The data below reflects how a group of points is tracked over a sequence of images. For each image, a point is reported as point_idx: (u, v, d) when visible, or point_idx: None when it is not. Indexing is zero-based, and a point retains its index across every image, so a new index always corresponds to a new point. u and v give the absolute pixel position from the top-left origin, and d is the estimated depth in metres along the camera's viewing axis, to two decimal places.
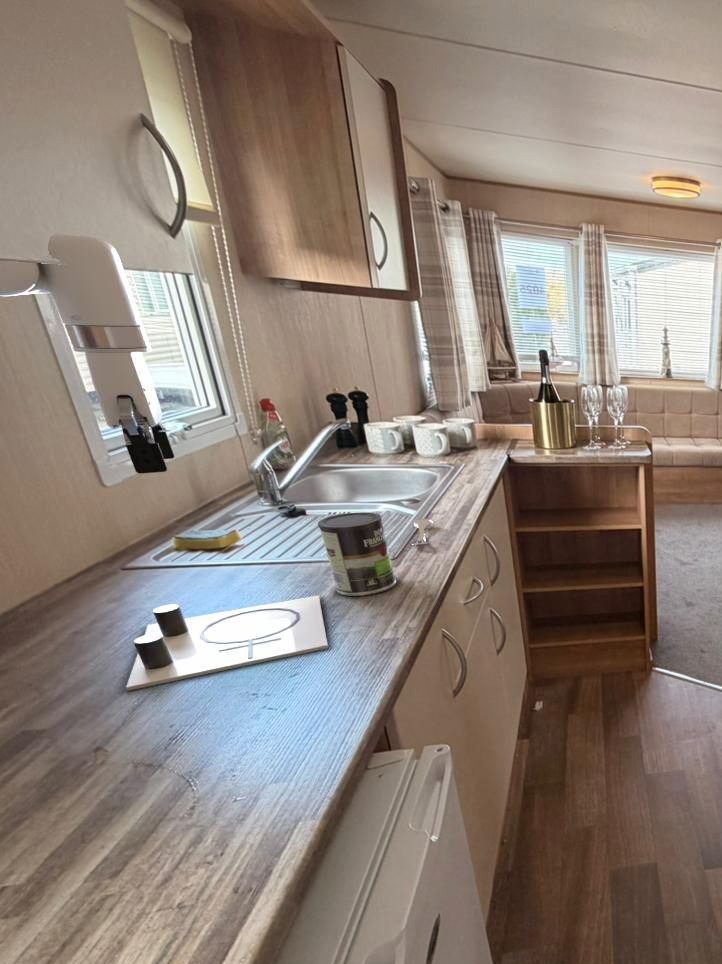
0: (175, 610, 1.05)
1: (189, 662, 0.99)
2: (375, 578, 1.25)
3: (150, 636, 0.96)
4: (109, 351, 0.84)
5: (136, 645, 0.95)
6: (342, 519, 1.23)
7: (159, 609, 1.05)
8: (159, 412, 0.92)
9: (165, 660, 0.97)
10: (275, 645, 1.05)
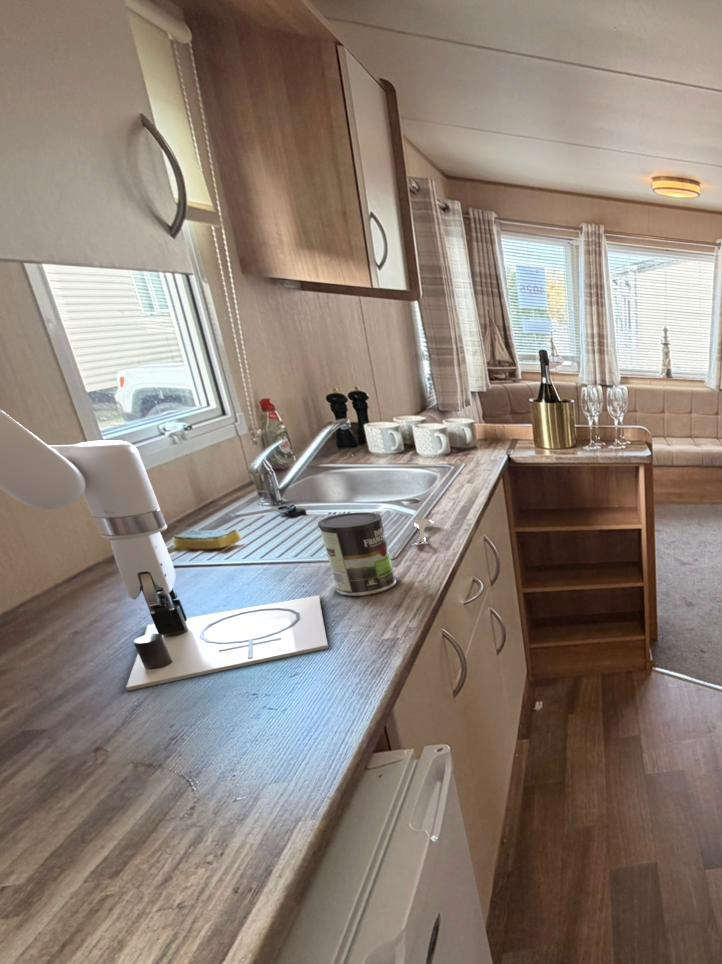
0: None
1: (189, 662, 0.99)
2: (375, 578, 1.25)
3: (150, 636, 0.96)
4: (131, 536, 0.97)
5: (136, 645, 0.95)
6: (342, 519, 1.23)
7: None
8: (173, 576, 1.05)
9: (165, 660, 0.97)
10: (275, 645, 1.05)
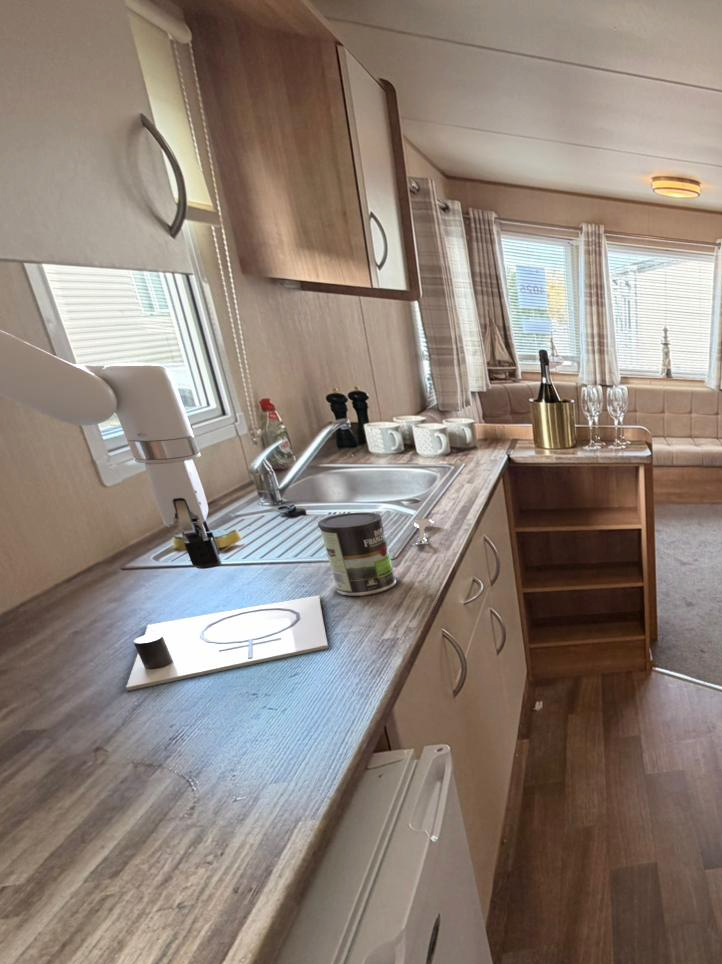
0: None
1: (189, 662, 0.99)
2: (375, 578, 1.25)
3: (150, 636, 0.96)
4: (166, 461, 0.96)
5: (136, 645, 0.95)
6: (342, 519, 1.23)
7: None
8: (206, 507, 1.04)
9: (165, 660, 0.97)
10: (275, 645, 1.05)
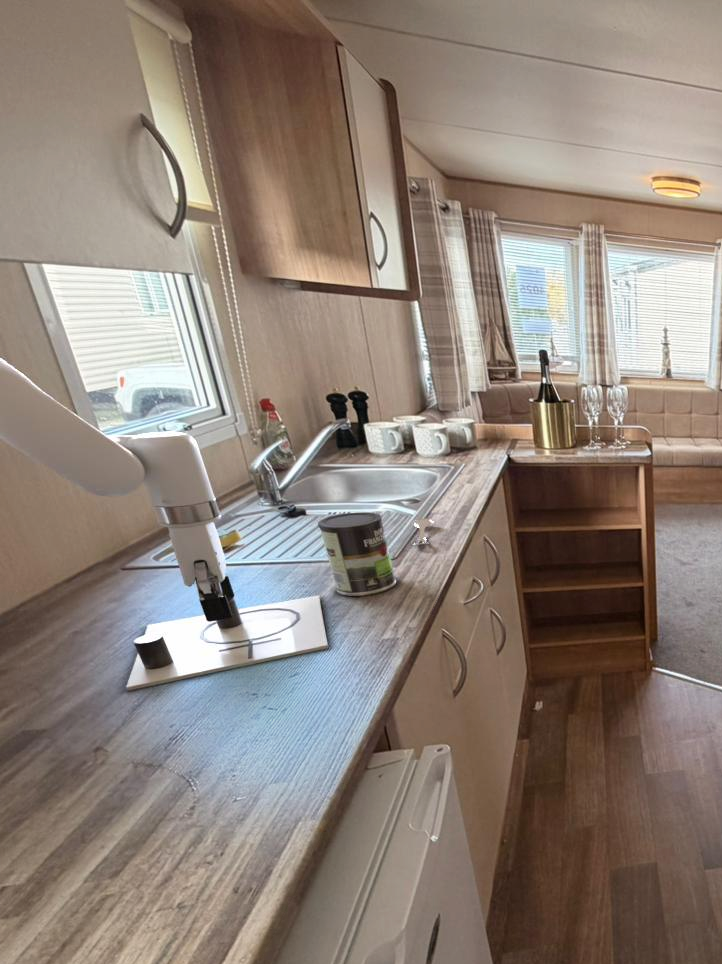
0: (231, 603, 1.08)
1: (189, 662, 0.99)
2: (375, 578, 1.25)
3: (150, 636, 0.96)
4: (188, 525, 1.00)
5: (136, 645, 0.95)
6: (342, 519, 1.23)
7: None
8: (225, 565, 1.08)
9: (165, 660, 0.97)
10: (275, 645, 1.05)
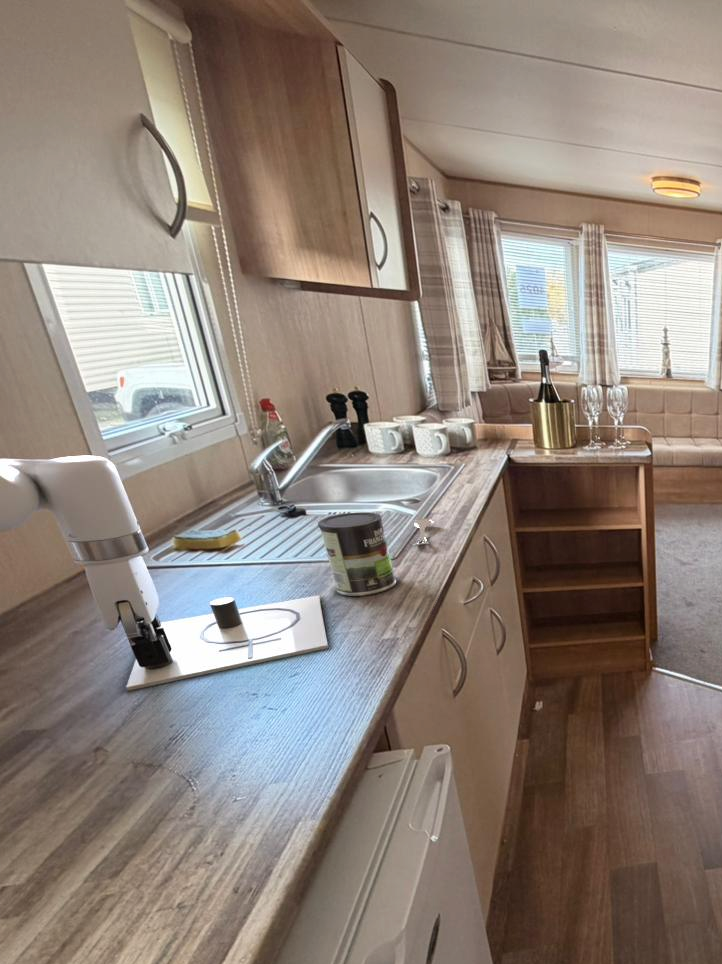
0: (231, 603, 1.08)
1: (189, 662, 0.99)
2: (375, 578, 1.25)
3: None
4: (108, 562, 0.88)
5: None
6: (342, 519, 1.23)
7: (215, 602, 1.08)
8: (156, 603, 0.96)
9: None
10: (275, 645, 1.05)
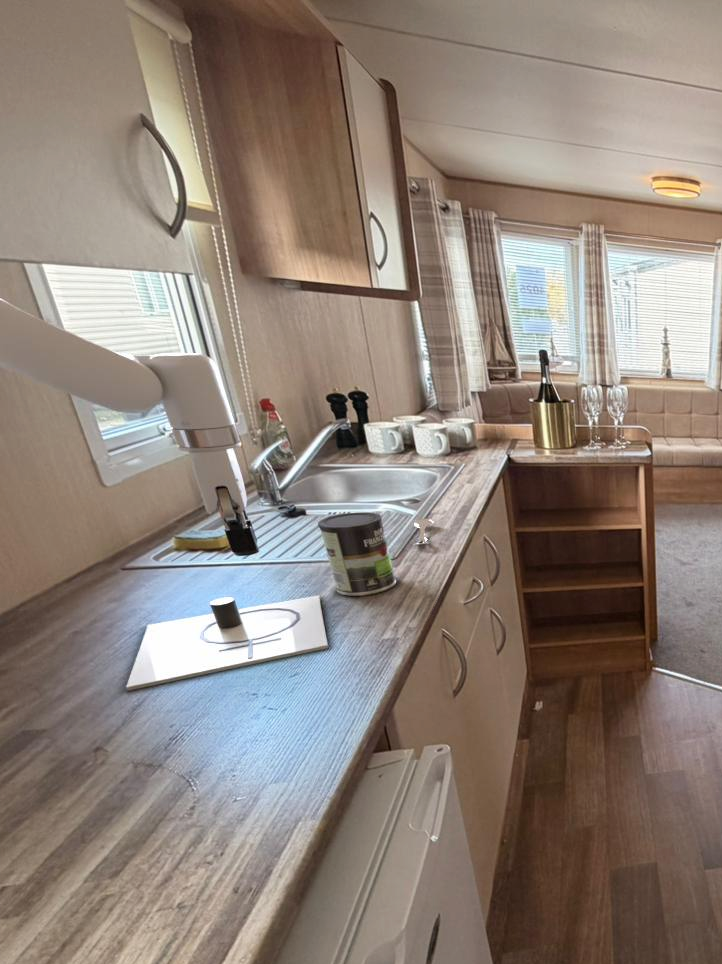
0: (231, 603, 1.08)
1: (189, 662, 0.99)
2: (375, 578, 1.25)
3: None
4: (209, 450, 0.98)
5: None
6: (342, 519, 1.23)
7: (215, 602, 1.08)
8: None
9: None
10: (275, 645, 1.05)
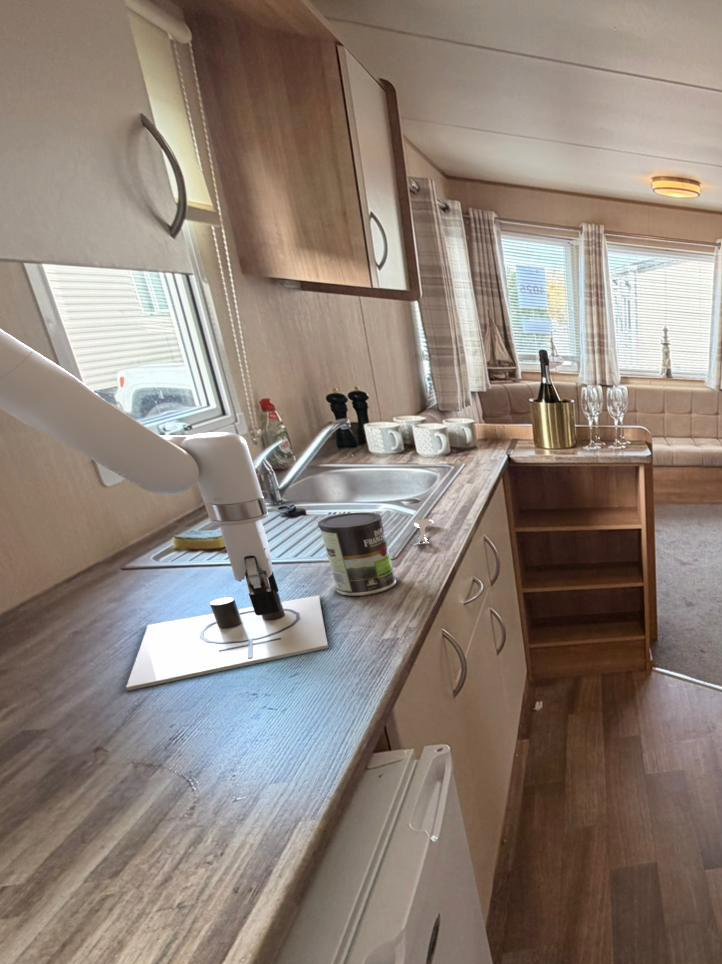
0: (231, 603, 1.08)
1: (189, 662, 0.99)
2: (375, 578, 1.25)
3: None
4: (239, 522, 1.03)
5: None
6: (342, 519, 1.23)
7: (215, 602, 1.08)
8: (271, 560, 1.11)
9: (280, 613, 1.13)
10: (275, 645, 1.05)
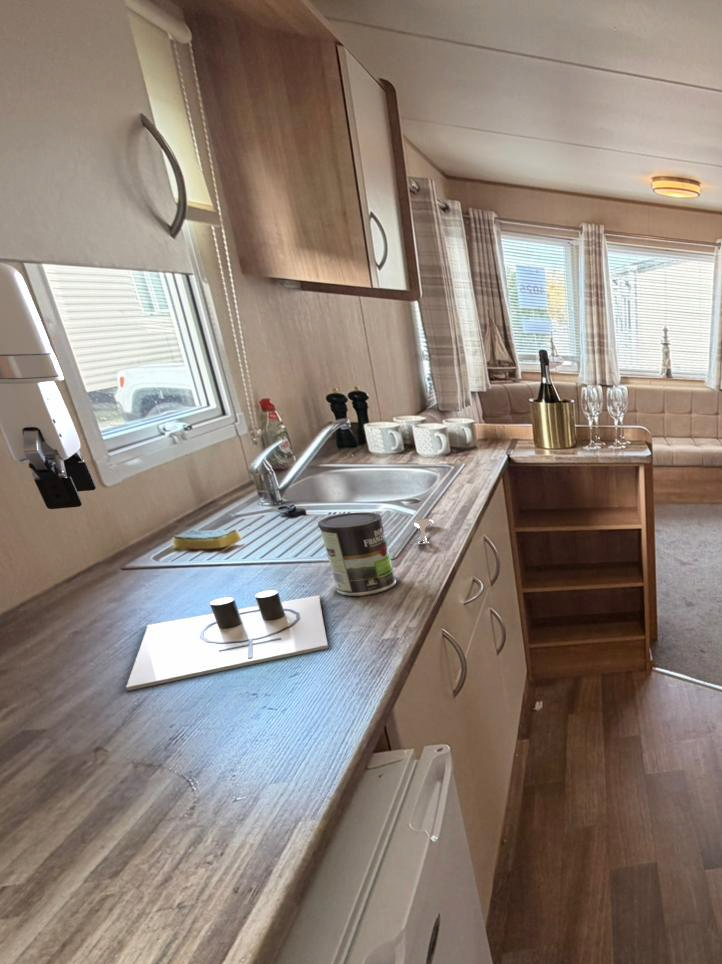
0: (231, 603, 1.08)
1: (189, 662, 0.99)
2: (375, 578, 1.25)
3: (268, 592, 1.12)
4: (13, 381, 0.79)
5: (257, 599, 1.11)
6: (342, 519, 1.23)
7: (215, 602, 1.08)
8: (75, 443, 0.87)
9: (280, 613, 1.13)
10: (275, 645, 1.05)
